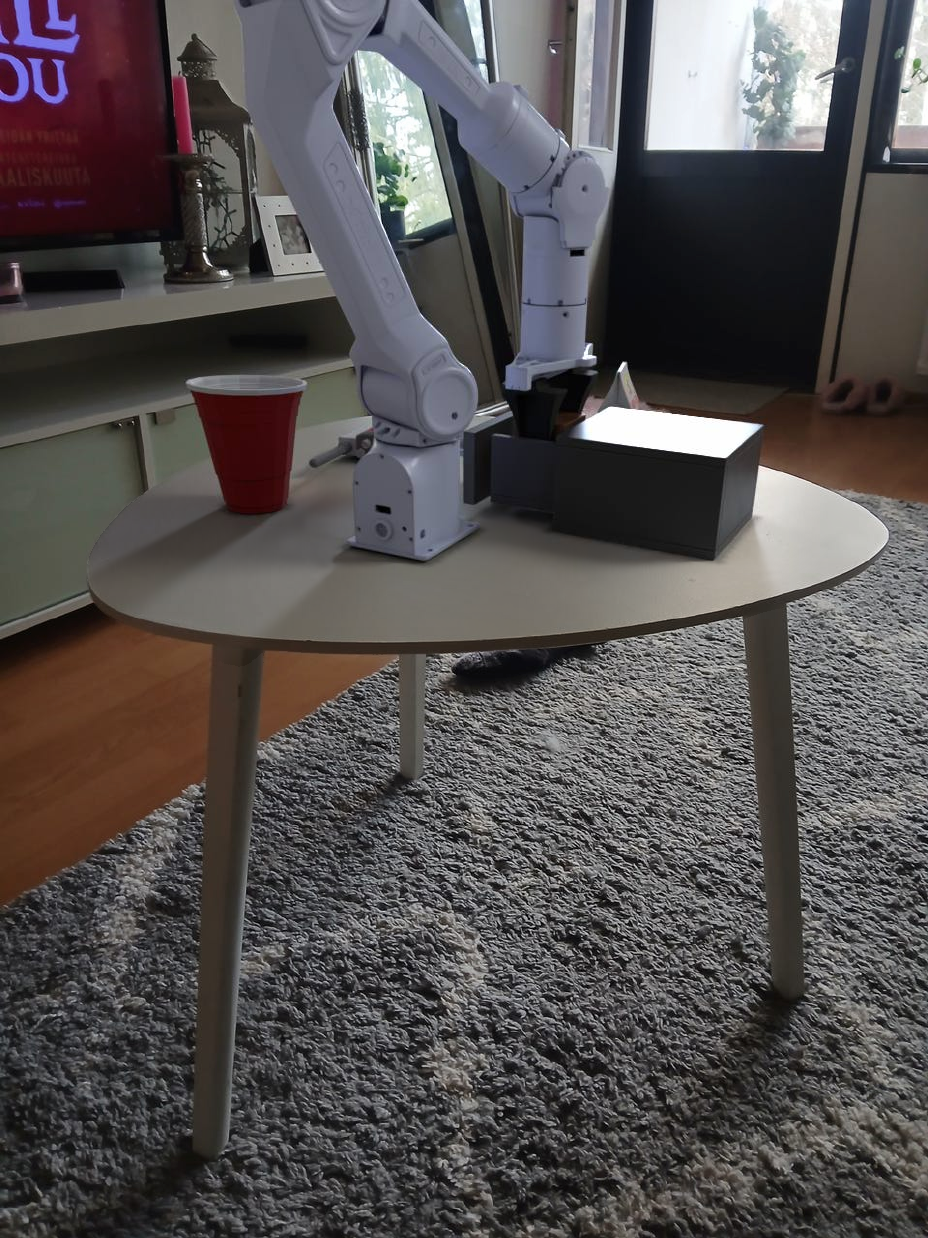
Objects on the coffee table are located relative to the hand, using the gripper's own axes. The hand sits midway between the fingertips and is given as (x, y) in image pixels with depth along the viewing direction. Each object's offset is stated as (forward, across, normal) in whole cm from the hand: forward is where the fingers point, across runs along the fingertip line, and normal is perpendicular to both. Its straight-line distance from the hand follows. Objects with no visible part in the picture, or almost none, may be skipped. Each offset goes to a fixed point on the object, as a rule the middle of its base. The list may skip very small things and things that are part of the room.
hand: (548, 454), depth 90 cm
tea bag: (+5, +19, 0) cm, 20 cm away
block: (+1, 0, 0) cm, 1 cm away
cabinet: (+5, 0, -11) cm, 12 cm away
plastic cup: (+5, -13, +24) cm, 28 cm away
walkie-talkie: (+5, +7, +23) cm, 25 cm away
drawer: (+4, 0, +1) cm, 4 cm away
